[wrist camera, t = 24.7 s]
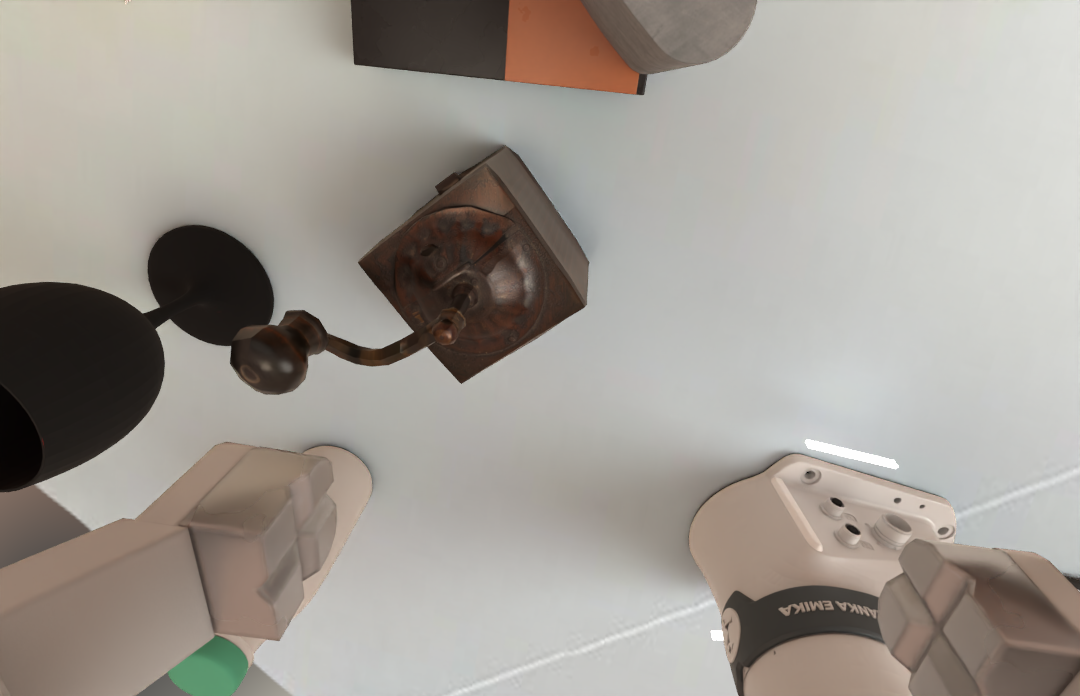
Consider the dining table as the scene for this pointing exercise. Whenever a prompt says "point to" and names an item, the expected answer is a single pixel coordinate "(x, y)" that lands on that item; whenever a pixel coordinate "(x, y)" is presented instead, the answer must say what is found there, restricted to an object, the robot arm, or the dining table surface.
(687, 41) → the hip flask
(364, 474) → the milk bottle
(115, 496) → the dining table surface
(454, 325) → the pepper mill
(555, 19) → the heating pad
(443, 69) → the plate
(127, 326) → the wine glass
